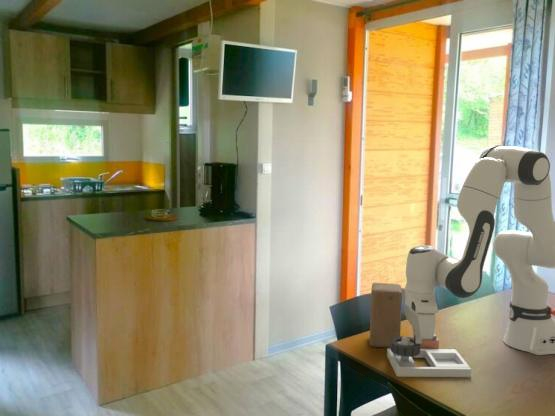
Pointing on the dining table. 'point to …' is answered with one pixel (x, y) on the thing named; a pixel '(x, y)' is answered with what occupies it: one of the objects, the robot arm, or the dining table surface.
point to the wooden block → (385, 314)
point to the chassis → (430, 363)
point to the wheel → (405, 347)
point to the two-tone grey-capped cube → (430, 343)
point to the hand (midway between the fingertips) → (417, 341)
